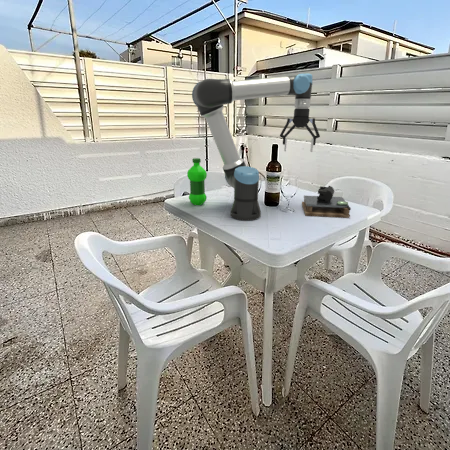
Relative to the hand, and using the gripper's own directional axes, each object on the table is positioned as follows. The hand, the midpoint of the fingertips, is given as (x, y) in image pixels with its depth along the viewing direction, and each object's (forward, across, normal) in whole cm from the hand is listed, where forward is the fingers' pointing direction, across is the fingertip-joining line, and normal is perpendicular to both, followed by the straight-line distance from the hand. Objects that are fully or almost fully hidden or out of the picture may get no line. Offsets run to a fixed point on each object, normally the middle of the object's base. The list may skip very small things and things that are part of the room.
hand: (298, 151), depth 156 cm
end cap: (+23, +15, -11) cm, 30 cm away
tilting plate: (+24, +15, -11) cm, 30 cm away
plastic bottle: (+29, -53, -10) cm, 61 cm away
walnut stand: (+29, +15, -11) cm, 34 cm away
